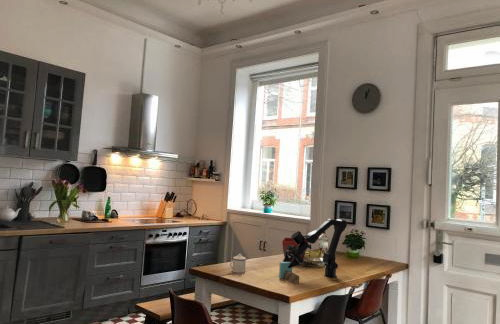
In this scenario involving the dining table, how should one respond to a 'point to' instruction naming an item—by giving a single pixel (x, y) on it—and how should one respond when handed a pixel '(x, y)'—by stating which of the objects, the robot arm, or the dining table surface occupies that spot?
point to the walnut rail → (291, 277)
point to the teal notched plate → (284, 269)
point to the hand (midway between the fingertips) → (285, 266)
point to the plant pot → (290, 242)
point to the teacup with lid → (238, 264)
